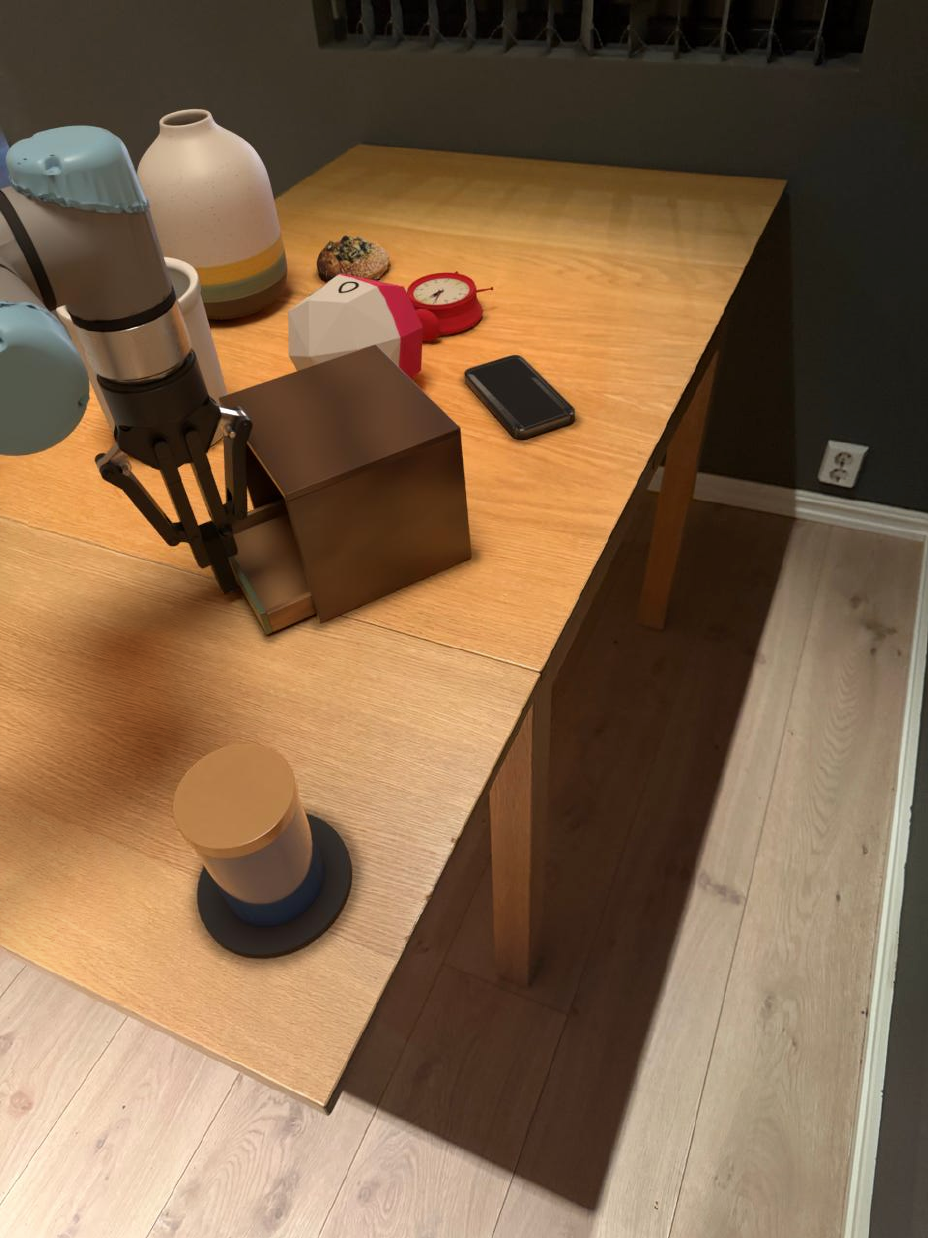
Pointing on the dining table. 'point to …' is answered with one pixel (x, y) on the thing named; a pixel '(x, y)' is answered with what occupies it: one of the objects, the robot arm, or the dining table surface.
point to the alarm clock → (445, 303)
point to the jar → (251, 832)
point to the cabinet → (358, 476)
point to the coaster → (291, 933)
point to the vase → (215, 212)
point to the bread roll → (352, 259)
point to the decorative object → (355, 323)
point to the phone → (519, 396)
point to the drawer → (271, 567)
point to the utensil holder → (198, 328)
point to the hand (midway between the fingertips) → (227, 583)
